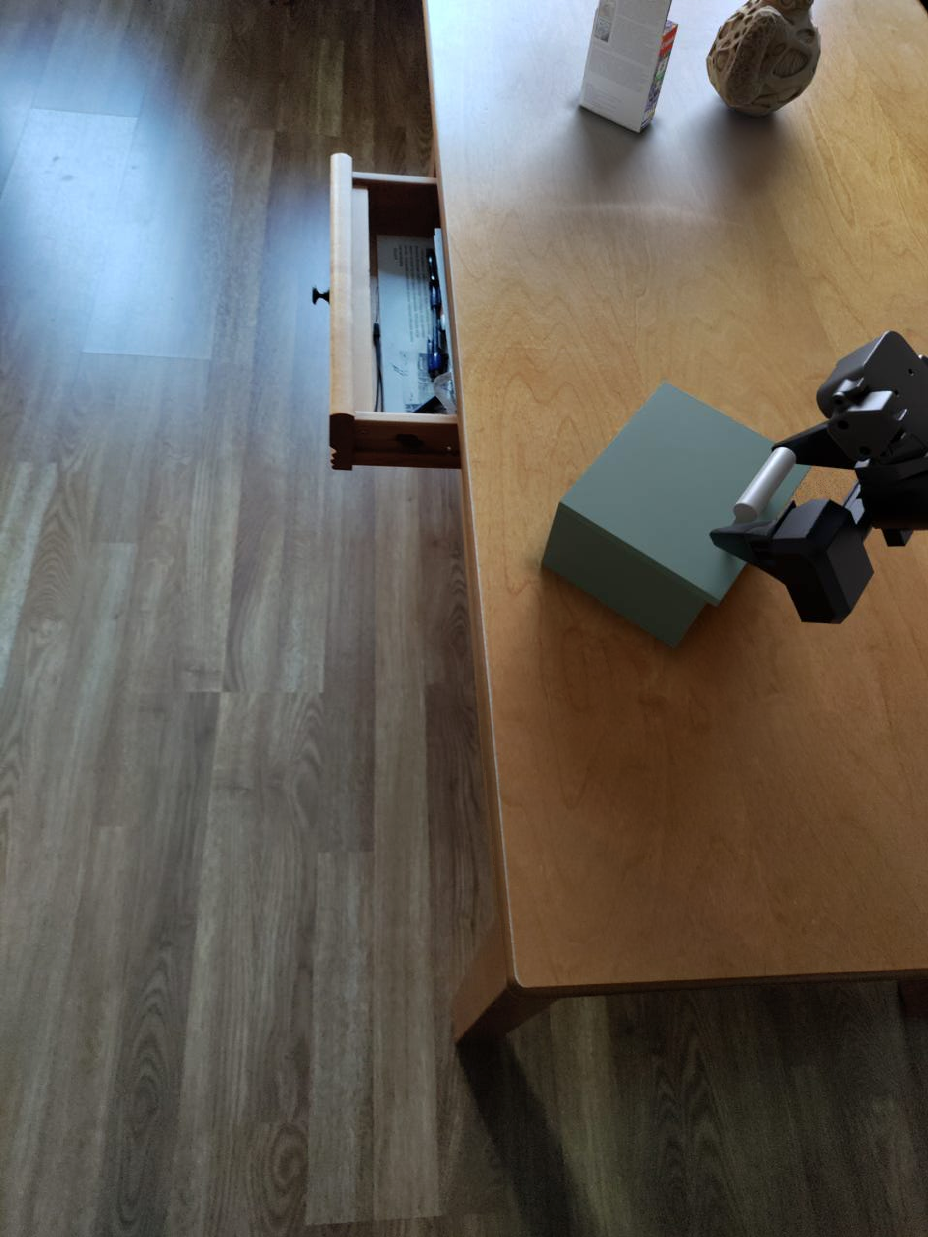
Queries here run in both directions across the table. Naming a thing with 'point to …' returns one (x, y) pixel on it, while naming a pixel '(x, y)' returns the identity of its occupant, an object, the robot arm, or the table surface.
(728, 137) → the table surface
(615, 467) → the bin lid
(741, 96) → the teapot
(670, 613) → the bin
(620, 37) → the ink box
